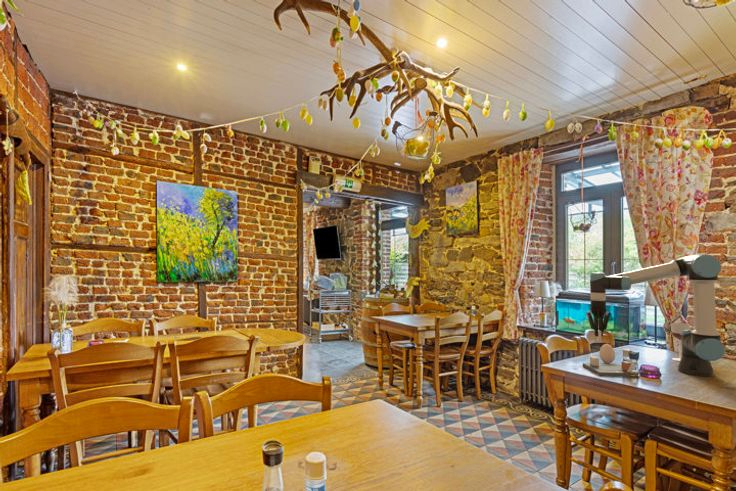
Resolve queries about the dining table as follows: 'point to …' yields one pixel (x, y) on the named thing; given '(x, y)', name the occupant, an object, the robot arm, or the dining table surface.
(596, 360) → the fader
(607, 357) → the egg
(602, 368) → the beige flat board
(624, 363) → the fader
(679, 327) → the wineglass
